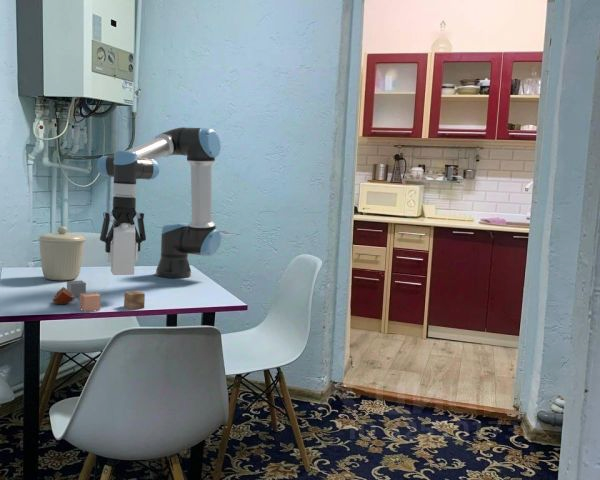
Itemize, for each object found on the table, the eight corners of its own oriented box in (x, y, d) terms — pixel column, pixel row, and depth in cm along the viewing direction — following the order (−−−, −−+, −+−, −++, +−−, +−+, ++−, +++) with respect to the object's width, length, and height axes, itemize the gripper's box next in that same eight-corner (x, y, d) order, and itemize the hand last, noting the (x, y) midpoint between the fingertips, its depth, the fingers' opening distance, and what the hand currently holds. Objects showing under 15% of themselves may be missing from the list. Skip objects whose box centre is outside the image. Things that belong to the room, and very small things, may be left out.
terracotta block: (94, 307, 186) (95, 292, 186) (100, 310, 182) (100, 295, 182) (79, 308, 183) (79, 293, 183) (84, 312, 179) (84, 296, 179)
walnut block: (138, 305, 193) (138, 290, 193) (144, 308, 190) (144, 293, 189) (124, 306, 190) (124, 291, 190) (129, 309, 186) (130, 294, 186)
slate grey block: (81, 294, 204) (81, 280, 203) (85, 297, 200) (85, 283, 200) (66, 295, 201) (66, 281, 200) (70, 298, 197) (71, 283, 196)
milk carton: (110, 271, 200) (112, 218, 198) (131, 271, 203) (133, 218, 201) (112, 275, 194) (114, 220, 192) (134, 275, 197) (135, 220, 195)
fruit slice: (53, 300, 191) (53, 286, 191) (74, 300, 193) (74, 286, 193) (51, 306, 183) (52, 291, 183) (74, 306, 186) (74, 291, 185)
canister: (93, 276, 237) (94, 226, 235) (71, 284, 219) (72, 230, 217) (51, 273, 238) (52, 223, 236) (27, 280, 221) (28, 226, 218)
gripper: (149, 196, 205) (147, 258, 208) (90, 194, 192) (88, 260, 195) (157, 197, 199) (155, 261, 202) (97, 196, 186) (96, 264, 189)
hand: (122, 261), depth 198 cm, fingers closed on milk carton, 8 cm apart
